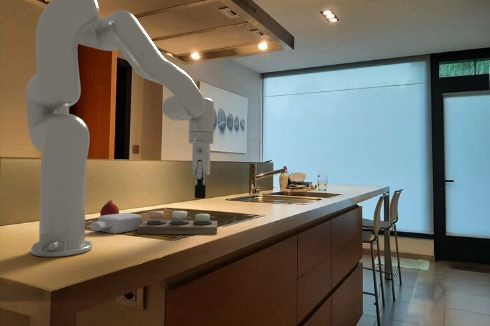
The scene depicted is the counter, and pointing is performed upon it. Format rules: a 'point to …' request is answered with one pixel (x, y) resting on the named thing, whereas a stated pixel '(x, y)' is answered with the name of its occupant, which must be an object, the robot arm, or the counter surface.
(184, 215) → the grey button
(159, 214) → the terracotta button
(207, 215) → the sage button
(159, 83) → the robot arm
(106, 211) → the onion
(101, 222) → the white bottle
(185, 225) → the button board
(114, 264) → the counter surface
